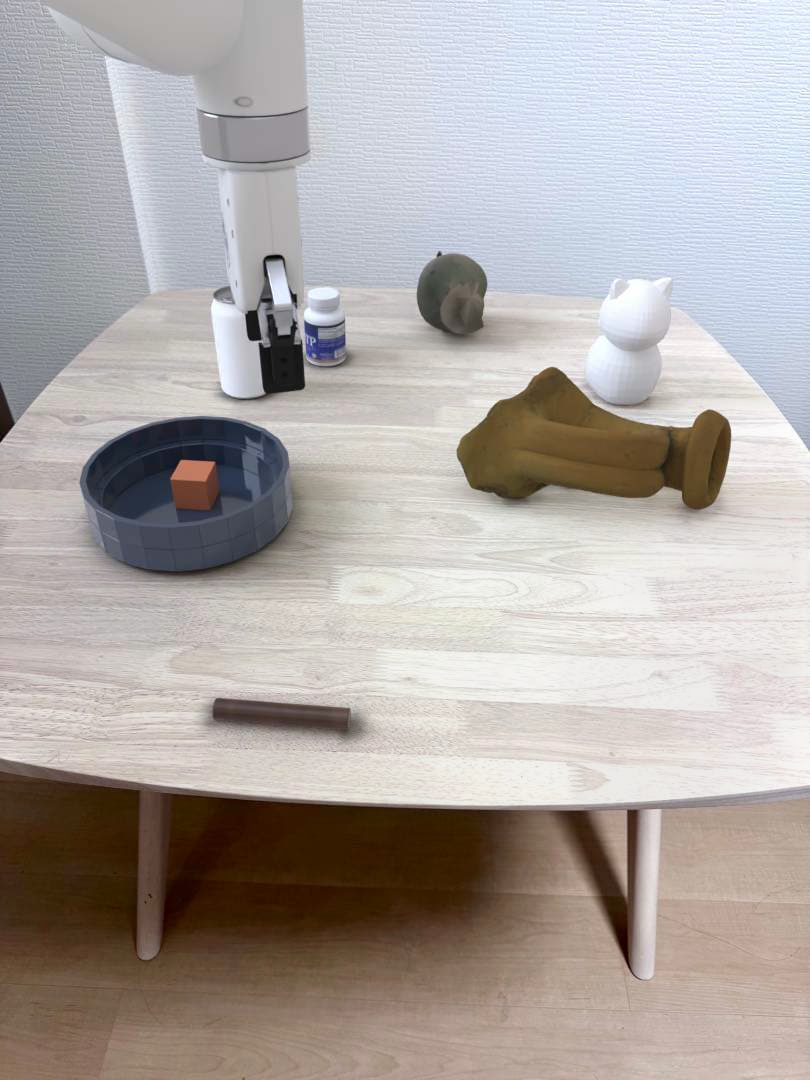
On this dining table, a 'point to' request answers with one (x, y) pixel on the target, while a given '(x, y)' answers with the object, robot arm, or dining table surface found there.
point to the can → (235, 349)
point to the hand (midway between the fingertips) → (275, 363)
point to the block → (195, 485)
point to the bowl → (148, 503)
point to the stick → (282, 713)
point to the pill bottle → (324, 328)
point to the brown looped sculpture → (590, 448)
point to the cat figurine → (630, 340)
